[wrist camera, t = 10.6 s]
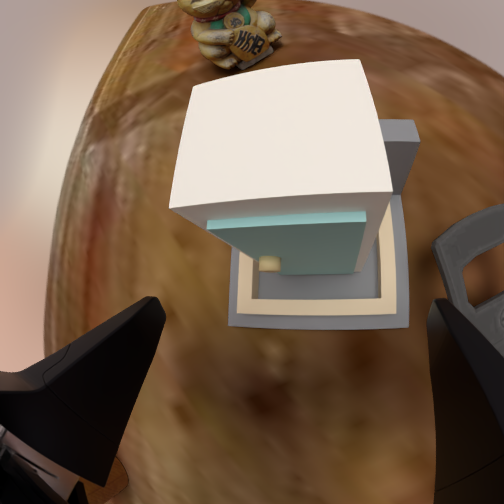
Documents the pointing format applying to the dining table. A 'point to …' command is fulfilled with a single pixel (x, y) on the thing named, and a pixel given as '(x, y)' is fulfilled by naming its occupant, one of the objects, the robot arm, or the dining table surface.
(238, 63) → the decorative figurine
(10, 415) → the robot arm
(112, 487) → the disposable coffee cup
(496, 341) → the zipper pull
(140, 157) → the dining table surface
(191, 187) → the white cabinet
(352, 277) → the board
